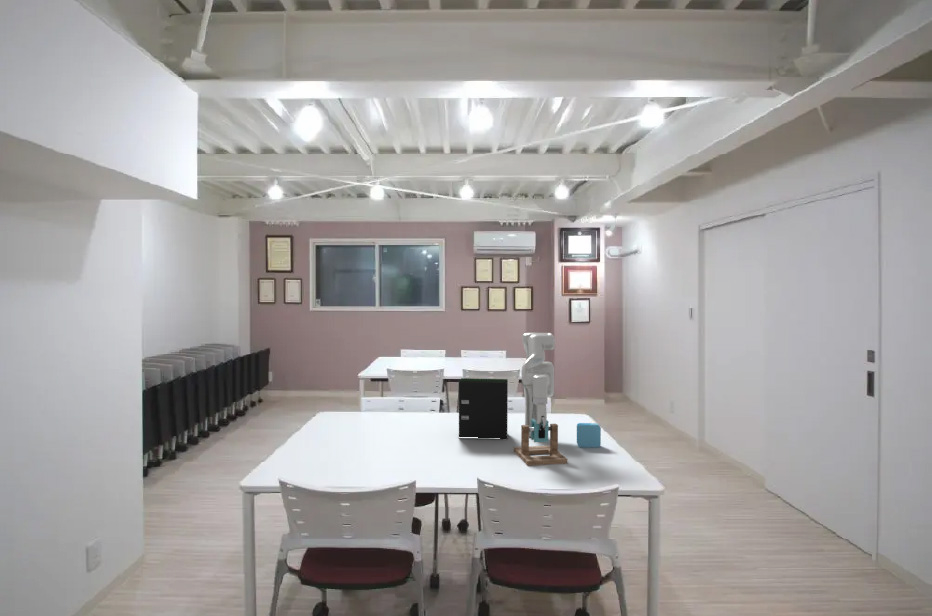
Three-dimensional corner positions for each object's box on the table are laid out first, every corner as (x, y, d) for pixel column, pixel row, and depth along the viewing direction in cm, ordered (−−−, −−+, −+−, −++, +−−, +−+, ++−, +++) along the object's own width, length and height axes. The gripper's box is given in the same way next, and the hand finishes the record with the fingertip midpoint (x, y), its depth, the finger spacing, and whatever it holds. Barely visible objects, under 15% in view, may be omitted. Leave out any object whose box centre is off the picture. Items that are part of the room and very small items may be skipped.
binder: (507, 433, 313) (507, 378, 313) (507, 440, 298) (507, 383, 298) (461, 432, 316) (461, 378, 315) (458, 439, 301) (458, 382, 300)
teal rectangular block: (531, 439, 269) (531, 418, 269) (544, 438, 271) (544, 418, 270) (534, 442, 264) (534, 421, 263) (548, 441, 265) (548, 421, 265)
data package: (599, 445, 289) (599, 423, 288) (600, 447, 284) (600, 425, 284) (576, 444, 289) (576, 422, 289) (577, 447, 285) (578, 424, 285)
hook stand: (513, 451, 277) (513, 420, 277) (550, 449, 281) (550, 418, 280) (527, 465, 254) (527, 431, 253) (567, 463, 257) (567, 430, 257)
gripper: (527, 397, 274) (527, 432, 275) (537, 404, 258) (537, 441, 258) (541, 396, 276) (541, 431, 276) (552, 403, 259) (552, 440, 259)
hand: (539, 435), depth 267 cm, fingers closed on teal rectangular block, 6 cm apart
